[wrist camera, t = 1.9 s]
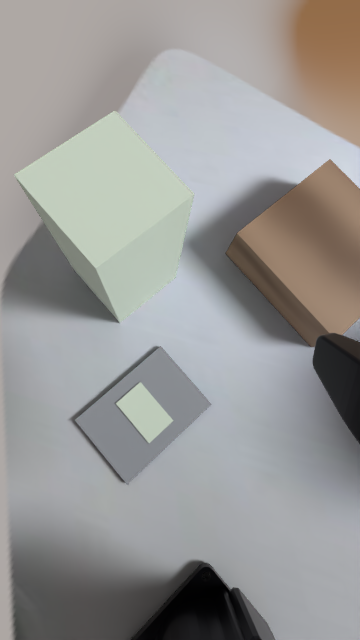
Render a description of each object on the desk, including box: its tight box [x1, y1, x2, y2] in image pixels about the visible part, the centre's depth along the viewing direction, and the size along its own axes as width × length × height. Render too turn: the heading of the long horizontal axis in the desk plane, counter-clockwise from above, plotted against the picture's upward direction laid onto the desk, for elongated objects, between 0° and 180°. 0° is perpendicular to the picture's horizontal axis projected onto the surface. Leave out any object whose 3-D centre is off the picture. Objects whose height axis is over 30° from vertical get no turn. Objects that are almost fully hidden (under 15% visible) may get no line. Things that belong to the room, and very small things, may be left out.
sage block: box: [14, 111, 194, 323], centre depth 18 cm, size 5×5×10 cm
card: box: [75, 346, 211, 484], centre depth 20 cm, size 7×5×1 cm
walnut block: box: [226, 159, 360, 347], centre depth 23 cm, size 9×9×4 cm
